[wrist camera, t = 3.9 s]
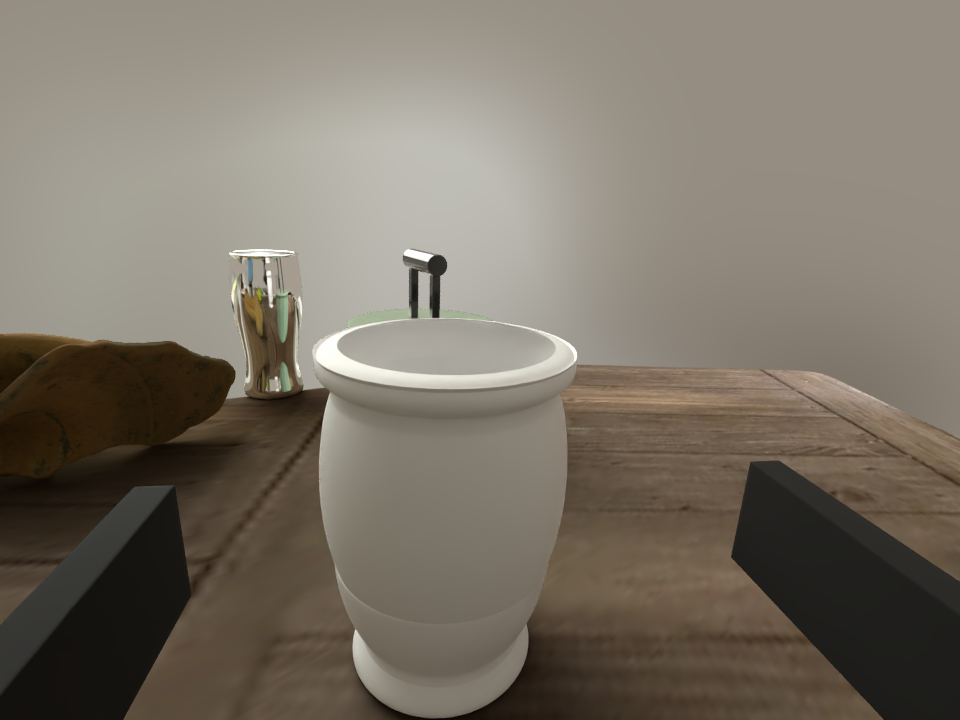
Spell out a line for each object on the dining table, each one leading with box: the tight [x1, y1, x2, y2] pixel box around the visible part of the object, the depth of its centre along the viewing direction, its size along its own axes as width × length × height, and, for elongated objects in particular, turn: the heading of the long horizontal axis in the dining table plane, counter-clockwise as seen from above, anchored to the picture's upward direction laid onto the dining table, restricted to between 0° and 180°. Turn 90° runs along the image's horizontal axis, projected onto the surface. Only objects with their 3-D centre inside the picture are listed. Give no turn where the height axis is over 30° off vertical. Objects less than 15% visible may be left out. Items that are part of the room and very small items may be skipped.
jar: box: [312, 318, 577, 718], centre depth 22 cm, size 11×10×15 cm
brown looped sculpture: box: [0, 334, 235, 479], centre depth 36 cm, size 18×13×22 cm
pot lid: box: [347, 249, 493, 328], centre depth 46 cm, size 14×14×8 cm
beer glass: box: [229, 250, 303, 399], centre depth 54 cm, size 7×7×15 cm
